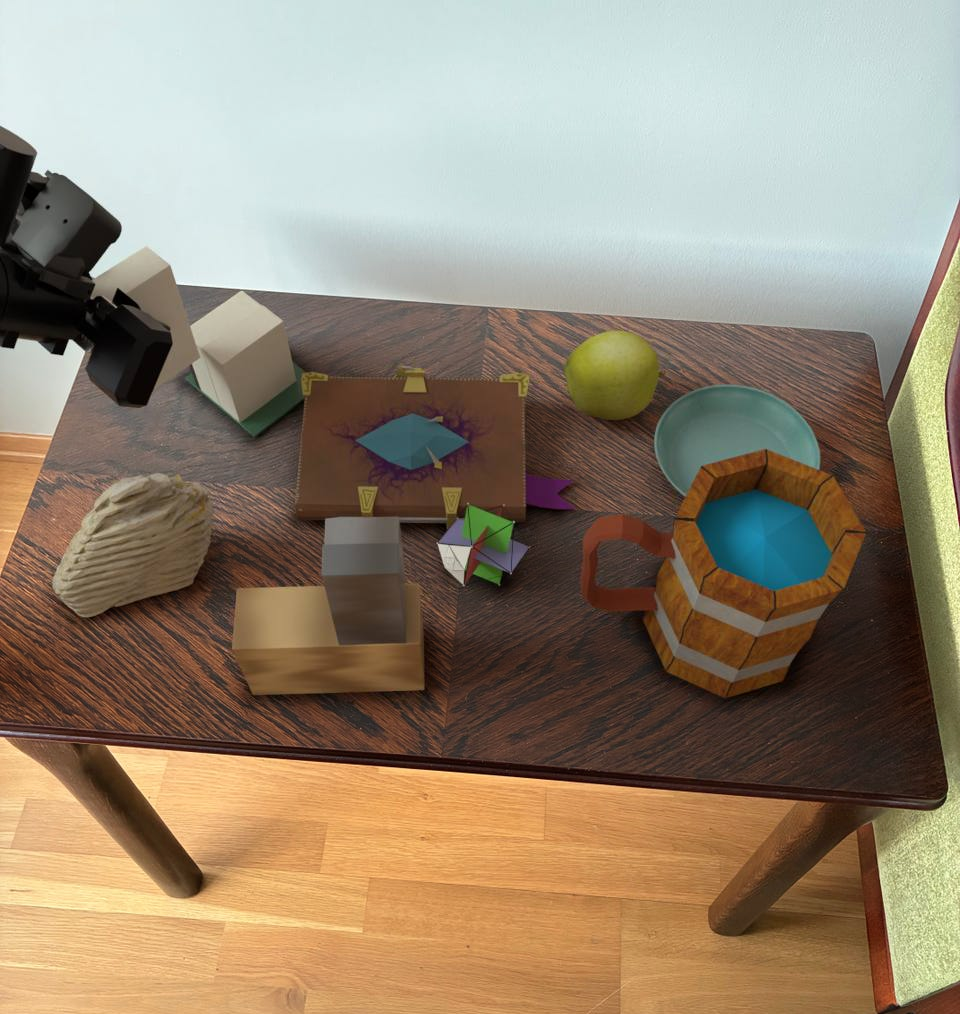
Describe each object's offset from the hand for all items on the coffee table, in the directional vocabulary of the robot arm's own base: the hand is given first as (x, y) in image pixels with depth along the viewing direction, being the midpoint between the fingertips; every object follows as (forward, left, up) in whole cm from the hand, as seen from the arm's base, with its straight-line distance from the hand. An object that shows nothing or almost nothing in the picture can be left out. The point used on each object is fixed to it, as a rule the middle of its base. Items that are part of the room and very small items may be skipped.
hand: (154, 322), depth 82 cm
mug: (+25, -41, -13) cm, 50 cm away
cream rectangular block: (-1, 0, -5) cm, 5 cm away
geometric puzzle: (+14, -27, -13) cm, 33 cm away
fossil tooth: (-10, -12, -13) cm, 21 cm away
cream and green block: (+7, +1, -13) cm, 15 cm away
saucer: (+39, -31, -13) cm, 51 cm away
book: (+17, -15, -13) cm, 27 cm away
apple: (+34, -19, -13) cm, 41 cm away
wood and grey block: (-1, -28, -13) cm, 31 cm away
